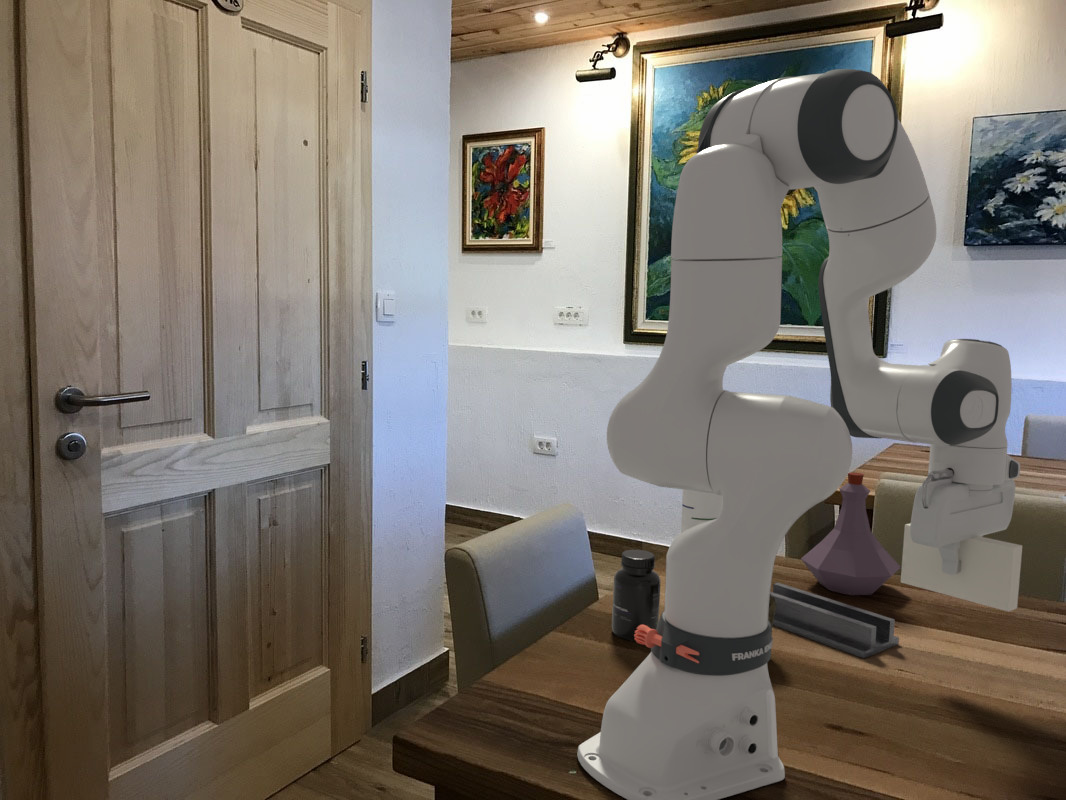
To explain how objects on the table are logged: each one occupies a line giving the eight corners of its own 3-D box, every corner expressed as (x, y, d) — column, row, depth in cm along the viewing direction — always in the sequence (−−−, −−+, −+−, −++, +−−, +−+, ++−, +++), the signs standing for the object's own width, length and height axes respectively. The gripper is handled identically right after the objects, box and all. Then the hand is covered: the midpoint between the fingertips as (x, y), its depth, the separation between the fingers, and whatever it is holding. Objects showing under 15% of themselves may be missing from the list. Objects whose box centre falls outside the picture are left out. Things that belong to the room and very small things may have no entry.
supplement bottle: (606, 638, 124) (609, 557, 123) (617, 622, 131) (619, 545, 129) (653, 645, 122) (656, 562, 121) (662, 628, 128) (665, 550, 127)
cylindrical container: (696, 564, 161) (701, 432, 158) (727, 574, 155) (733, 437, 153) (671, 571, 156) (676, 435, 153) (702, 582, 151) (708, 441, 148)
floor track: (898, 644, 124) (900, 617, 124) (863, 658, 119) (865, 630, 118) (782, 604, 140) (783, 580, 139) (747, 615, 134) (748, 591, 134)
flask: (891, 577, 156) (899, 468, 153) (907, 607, 140) (915, 486, 138) (797, 568, 160) (803, 462, 157) (802, 597, 144) (808, 479, 142)
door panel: (1017, 608, 107) (1022, 545, 107) (1008, 611, 106) (1013, 548, 105) (909, 579, 118) (914, 522, 118) (900, 582, 117) (904, 524, 116)
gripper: (951, 476, 102) (942, 590, 103) (1026, 463, 114) (1018, 565, 115) (900, 468, 107) (892, 577, 108) (978, 457, 119) (970, 554, 120)
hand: (958, 571), depth 112 cm, fingers closed on door panel, 2 cm apart
